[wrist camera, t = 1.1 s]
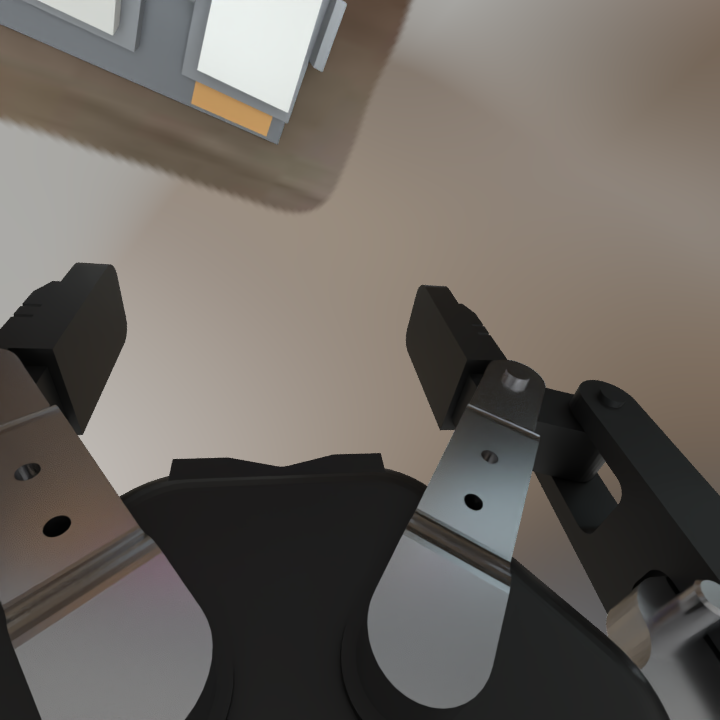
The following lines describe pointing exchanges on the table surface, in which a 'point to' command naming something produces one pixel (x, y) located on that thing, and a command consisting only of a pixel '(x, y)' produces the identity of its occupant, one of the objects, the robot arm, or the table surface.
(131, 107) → the table surface
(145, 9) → the switch unit
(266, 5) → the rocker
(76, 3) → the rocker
